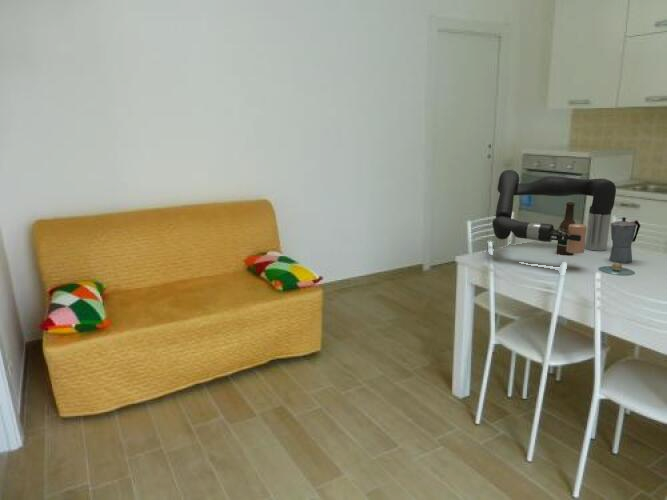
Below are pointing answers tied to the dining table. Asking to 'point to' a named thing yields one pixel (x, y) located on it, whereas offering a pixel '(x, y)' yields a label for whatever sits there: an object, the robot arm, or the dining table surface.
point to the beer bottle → (565, 224)
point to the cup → (576, 246)
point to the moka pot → (623, 240)
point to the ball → (616, 266)
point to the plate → (621, 272)
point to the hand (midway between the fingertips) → (582, 236)
